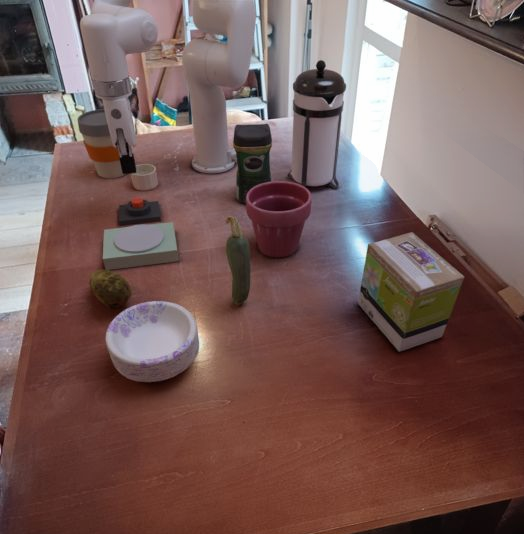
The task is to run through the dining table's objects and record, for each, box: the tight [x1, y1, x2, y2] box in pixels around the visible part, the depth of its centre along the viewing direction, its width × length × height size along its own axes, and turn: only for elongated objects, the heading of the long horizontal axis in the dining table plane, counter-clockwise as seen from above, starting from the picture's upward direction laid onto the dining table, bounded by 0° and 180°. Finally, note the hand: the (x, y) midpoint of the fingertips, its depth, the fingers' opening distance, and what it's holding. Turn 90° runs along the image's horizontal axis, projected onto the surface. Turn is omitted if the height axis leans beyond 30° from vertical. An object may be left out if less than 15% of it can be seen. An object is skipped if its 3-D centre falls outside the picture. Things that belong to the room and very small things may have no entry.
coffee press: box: [287, 59, 347, 190], centre depth 123 cm, size 17×16×30 cm
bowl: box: [130, 163, 159, 192], centre depth 130 cm, size 7×7×5 cm
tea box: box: [357, 231, 465, 353], centre depth 87 cm, size 15×10×15 cm, turn 23°
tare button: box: [130, 197, 144, 208], centre depth 118 cm, size 3×3×2 cm
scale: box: [102, 221, 180, 271], centre depth 109 cm, size 16×12×4 cm
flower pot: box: [245, 180, 312, 258], centre depth 106 cm, size 14×14×13 cm
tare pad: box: [118, 199, 162, 227], centre depth 120 cm, size 10×8×3 cm
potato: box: [88, 268, 132, 310], centre depth 95 cm, size 8×13×8 cm, turn 12°
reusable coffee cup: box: [77, 108, 126, 179], centre depth 133 cm, size 12×13×15 cm
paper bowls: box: [104, 300, 200, 383], centre depth 83 cm, size 15×15×8 cm
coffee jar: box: [232, 123, 273, 204], centre depth 120 cm, size 10×8×19 cm
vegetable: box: [225, 215, 252, 306], centre depth 89 cm, size 4×4×20 cm
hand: (129, 172), depth 112 cm, fingers closed
